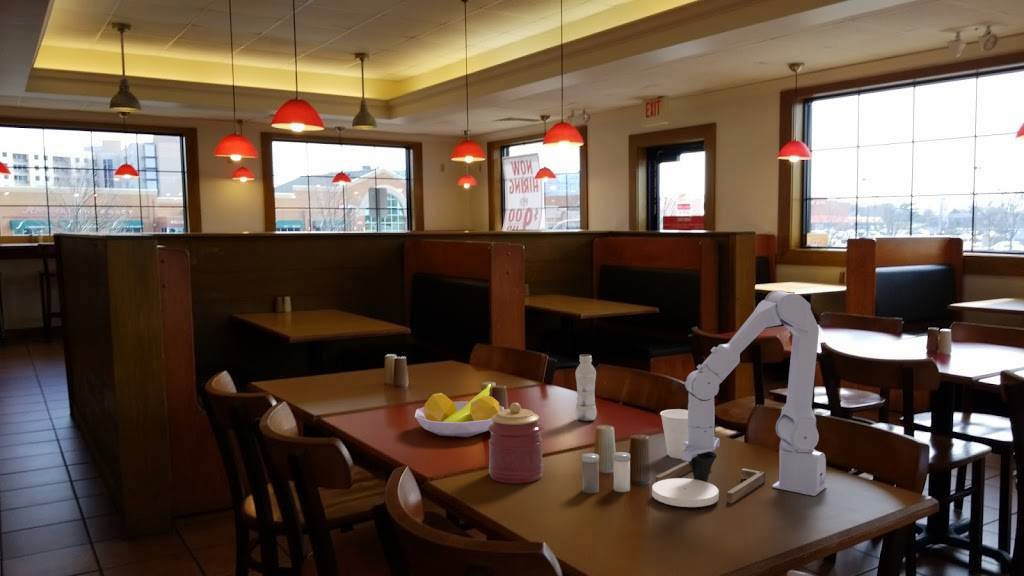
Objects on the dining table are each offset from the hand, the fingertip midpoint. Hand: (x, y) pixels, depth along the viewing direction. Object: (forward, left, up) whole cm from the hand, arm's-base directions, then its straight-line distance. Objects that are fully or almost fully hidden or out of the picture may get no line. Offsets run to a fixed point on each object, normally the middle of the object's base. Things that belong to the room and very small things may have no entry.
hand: (700, 485), depth 175 cm
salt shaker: (+14, +11, -1) cm, 18 cm away
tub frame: (0, -4, -1) cm, 5 cm away
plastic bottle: (+56, -36, -1) cm, 67 cm away
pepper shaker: (+19, +16, -1) cm, 25 cm away
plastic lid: (0, +8, -1) cm, 8 cm away
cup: (+16, -20, -1) cm, 26 cm away
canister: (+39, +18, -1) cm, 43 cm away
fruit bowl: (+78, -5, -1) cm, 78 cm away
